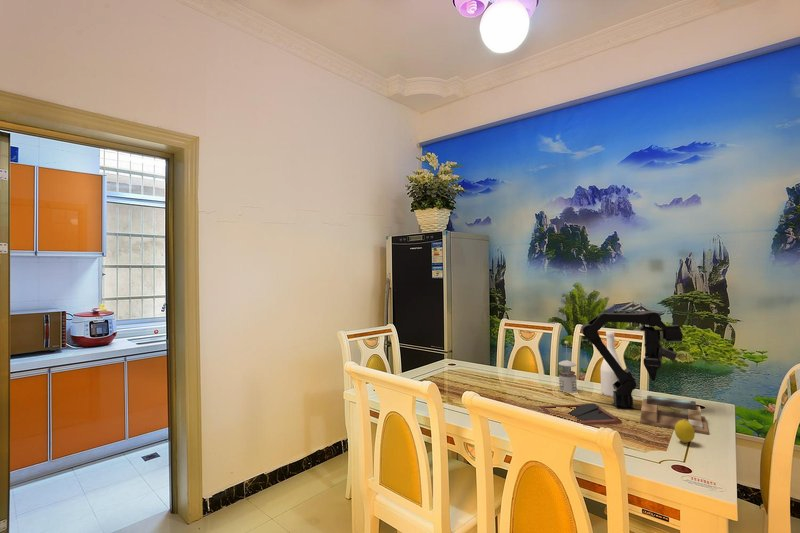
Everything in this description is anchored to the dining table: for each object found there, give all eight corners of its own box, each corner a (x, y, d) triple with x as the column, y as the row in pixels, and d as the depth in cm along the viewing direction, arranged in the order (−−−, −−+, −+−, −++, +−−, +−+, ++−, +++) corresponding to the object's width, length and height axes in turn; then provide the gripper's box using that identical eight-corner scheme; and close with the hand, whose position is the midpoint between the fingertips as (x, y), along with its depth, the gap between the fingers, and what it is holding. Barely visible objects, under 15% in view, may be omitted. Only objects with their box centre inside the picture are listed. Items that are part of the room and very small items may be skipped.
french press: (557, 394, 192) (555, 342, 192) (557, 387, 203) (555, 338, 203) (579, 395, 188) (577, 343, 188) (578, 388, 199) (576, 338, 199)
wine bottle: (616, 391, 194) (614, 329, 194) (628, 397, 184) (625, 332, 185) (597, 391, 193) (595, 330, 194) (608, 398, 184) (605, 333, 184)
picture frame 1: (594, 407, 174) (538, 410, 173) (594, 402, 174) (538, 405, 173) (622, 425, 154) (558, 428, 153) (621, 420, 154) (558, 423, 153)
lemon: (695, 448, 132) (694, 423, 132) (675, 444, 135) (674, 420, 135) (694, 441, 137) (693, 418, 137) (674, 438, 140) (673, 415, 140)
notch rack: (639, 423, 154) (639, 410, 154) (642, 409, 168) (641, 398, 168) (708, 434, 142) (707, 420, 142) (705, 419, 156) (704, 406, 156)
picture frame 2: (647, 403, 161) (646, 398, 161) (647, 400, 165) (647, 394, 165) (696, 410, 152) (696, 404, 152) (695, 406, 156) (695, 400, 156)
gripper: (675, 346, 157) (677, 386, 156) (675, 339, 172) (676, 375, 172) (642, 344, 163) (644, 382, 163) (645, 337, 178) (646, 372, 178)
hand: (653, 378), depth 169 cm, fingers open, 9 cm apart
